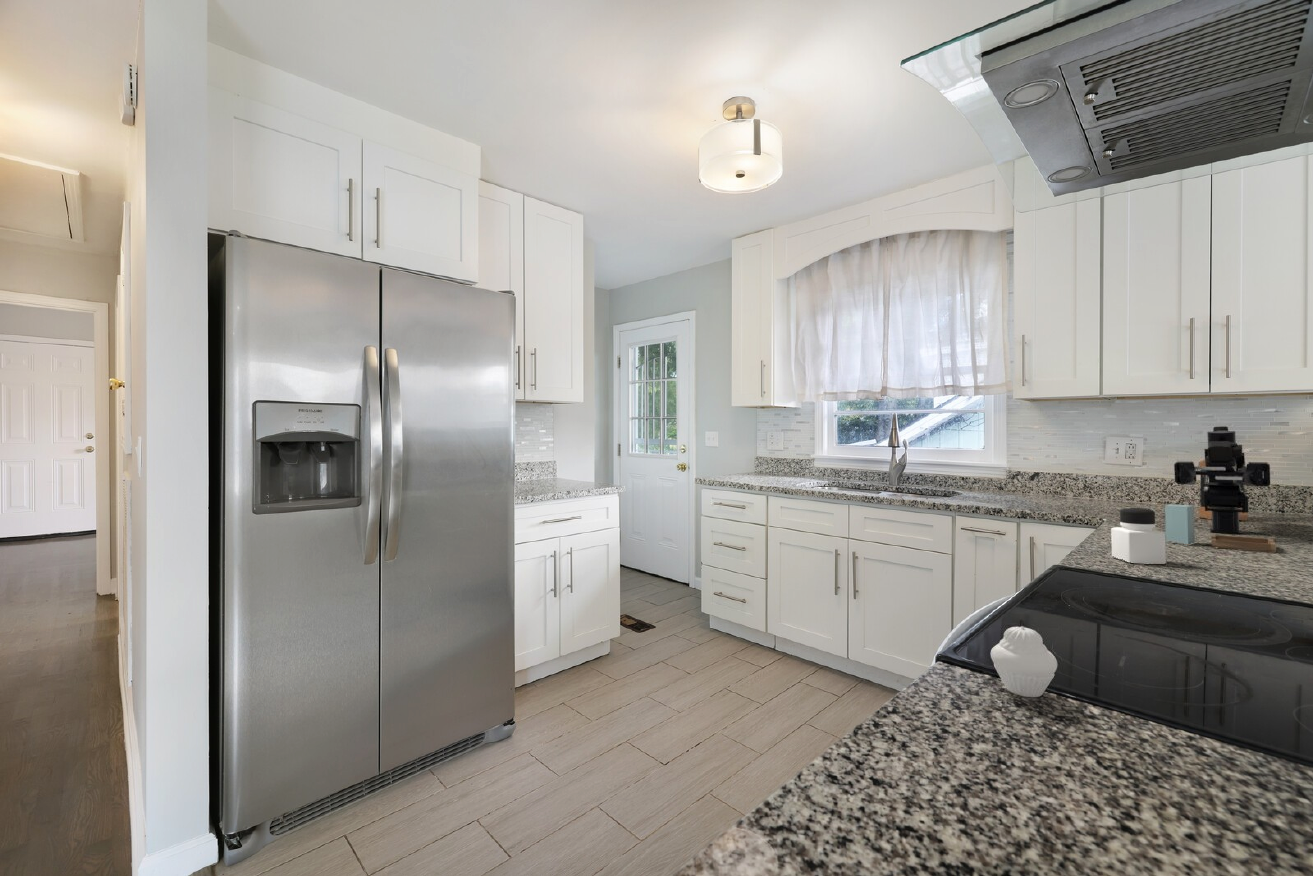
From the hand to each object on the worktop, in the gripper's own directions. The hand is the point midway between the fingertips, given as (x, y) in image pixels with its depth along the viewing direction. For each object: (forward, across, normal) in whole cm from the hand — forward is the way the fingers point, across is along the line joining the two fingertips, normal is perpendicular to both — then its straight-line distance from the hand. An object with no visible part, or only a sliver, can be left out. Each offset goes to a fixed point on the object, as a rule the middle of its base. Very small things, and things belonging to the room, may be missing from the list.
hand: (1218, 479), depth 153 cm
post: (+10, -7, +15) cm, 20 cm away
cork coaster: (-8, +2, +18) cm, 20 cm away
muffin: (+142, -9, -4) cm, 143 cm away
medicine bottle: (+47, -11, +10) cm, 50 cm away
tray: (+8, +4, +16) cm, 18 cm away
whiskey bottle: (-62, -2, +27) cm, 68 cm away
